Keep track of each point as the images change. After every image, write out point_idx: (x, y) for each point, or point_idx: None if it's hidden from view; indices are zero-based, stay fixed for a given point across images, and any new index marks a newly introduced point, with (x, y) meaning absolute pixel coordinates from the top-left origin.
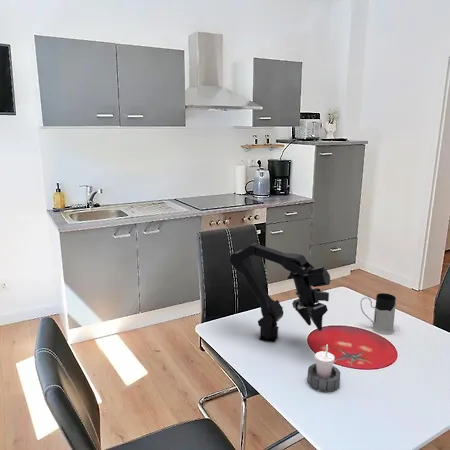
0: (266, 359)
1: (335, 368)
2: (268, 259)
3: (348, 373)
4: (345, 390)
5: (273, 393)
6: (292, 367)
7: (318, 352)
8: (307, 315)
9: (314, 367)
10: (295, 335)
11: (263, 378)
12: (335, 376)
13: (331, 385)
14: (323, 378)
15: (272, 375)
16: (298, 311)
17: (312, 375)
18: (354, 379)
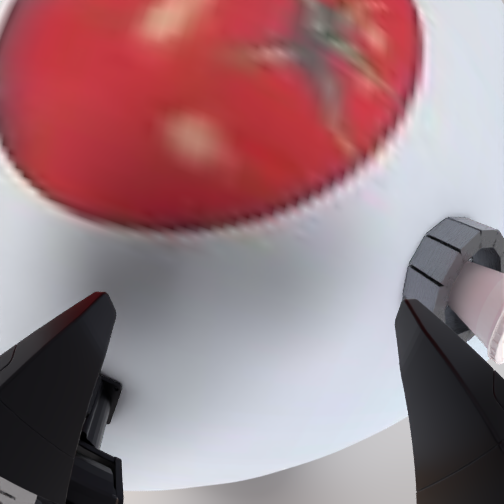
0: (256, 426)
1: (481, 237)
2: None
3: (437, 146)
4: (488, 218)
5: None
6: (336, 361)
7: (499, 348)
8: (46, 389)
9: (444, 321)
10: (45, 270)
11: (352, 429)
12: (501, 260)
13: None
14: None
15: (350, 414)
16: (66, 493)
17: (468, 337)
18: (464, 149)
